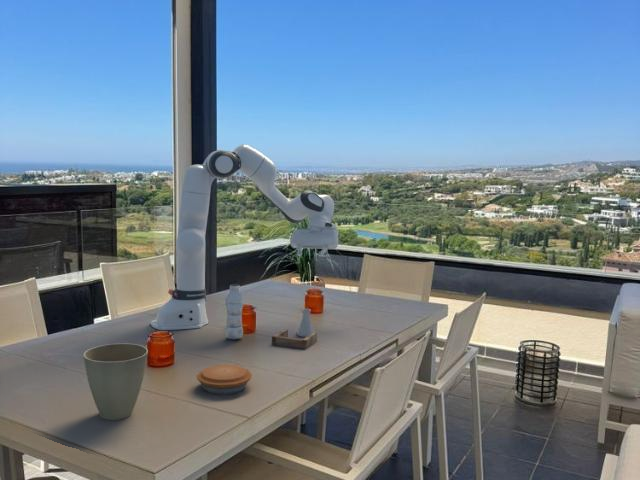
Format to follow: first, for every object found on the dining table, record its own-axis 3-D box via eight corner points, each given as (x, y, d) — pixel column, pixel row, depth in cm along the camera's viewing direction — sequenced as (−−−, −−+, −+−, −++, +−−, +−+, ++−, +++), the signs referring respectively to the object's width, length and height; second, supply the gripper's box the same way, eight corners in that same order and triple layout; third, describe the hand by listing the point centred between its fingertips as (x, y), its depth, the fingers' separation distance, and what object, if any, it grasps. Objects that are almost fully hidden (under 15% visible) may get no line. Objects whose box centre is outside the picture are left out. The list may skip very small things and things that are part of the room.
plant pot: (70, 420, 139) (69, 356, 138) (112, 399, 153) (112, 340, 152) (120, 431, 134) (120, 364, 132) (160, 408, 148) (160, 348, 146)
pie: (242, 400, 156) (242, 382, 155) (187, 394, 158) (187, 377, 158) (258, 380, 171) (258, 364, 170) (208, 376, 174) (208, 359, 173)
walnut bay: (305, 349, 204) (305, 340, 203) (271, 344, 208) (271, 336, 208) (316, 340, 214) (316, 332, 214) (284, 336, 219) (284, 329, 218)
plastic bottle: (246, 339, 214) (247, 285, 212) (232, 342, 209) (233, 287, 207) (235, 335, 218) (236, 283, 216) (221, 338, 213) (221, 285, 211)
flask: (301, 338, 217) (302, 312, 216) (293, 333, 224) (293, 308, 223) (318, 336, 221) (319, 310, 220) (310, 331, 227) (310, 306, 226)
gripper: (292, 223, 245) (284, 250, 237) (338, 224, 237) (330, 251, 230) (297, 232, 249) (288, 259, 242) (342, 233, 242) (334, 260, 234)
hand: (309, 255), depth 236 cm, fingers open, 8 cm apart
